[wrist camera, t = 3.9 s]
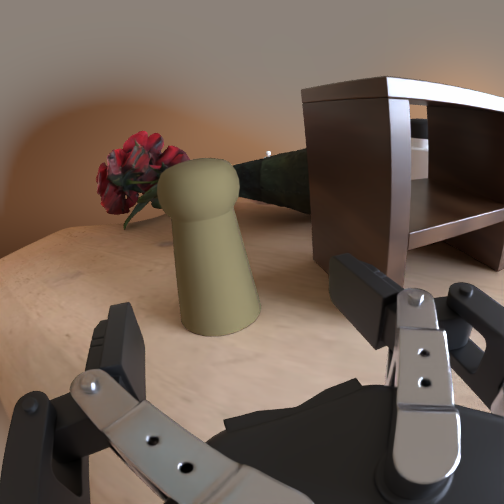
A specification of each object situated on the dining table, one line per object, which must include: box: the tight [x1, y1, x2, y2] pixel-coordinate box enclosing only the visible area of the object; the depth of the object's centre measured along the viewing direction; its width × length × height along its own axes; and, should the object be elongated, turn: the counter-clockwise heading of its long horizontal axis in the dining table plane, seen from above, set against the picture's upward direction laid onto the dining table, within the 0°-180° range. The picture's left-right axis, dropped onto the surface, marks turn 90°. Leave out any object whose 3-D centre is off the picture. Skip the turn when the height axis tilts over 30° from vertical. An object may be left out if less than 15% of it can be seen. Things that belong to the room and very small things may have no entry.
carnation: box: [96, 131, 311, 230], centre depth 45 cm, size 16×18×35 cm
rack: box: [301, 76, 504, 288], centre depth 23 cm, size 16×11×15 cm
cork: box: [157, 158, 261, 336], centre depth 21 cm, size 6×6×11 cm
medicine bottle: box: [410, 119, 428, 180], centre depth 46 cm, size 7×7×12 cm
